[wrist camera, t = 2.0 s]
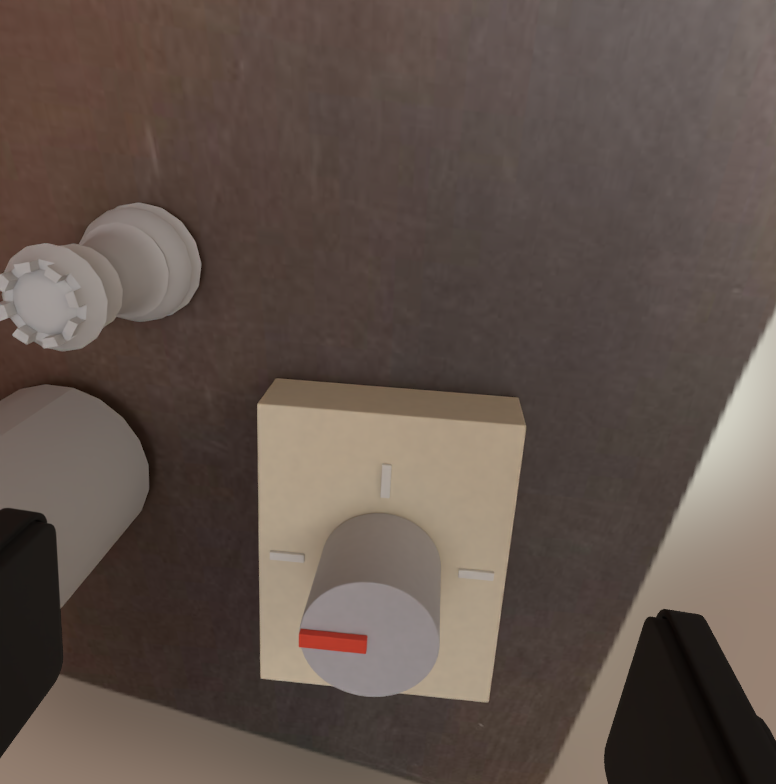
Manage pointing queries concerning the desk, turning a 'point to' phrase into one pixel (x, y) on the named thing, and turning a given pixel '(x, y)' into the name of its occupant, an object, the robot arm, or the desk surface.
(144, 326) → the desk surface
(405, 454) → the panel
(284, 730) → the desk surface
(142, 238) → the rook chess piece
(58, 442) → the can
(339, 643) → the knob
